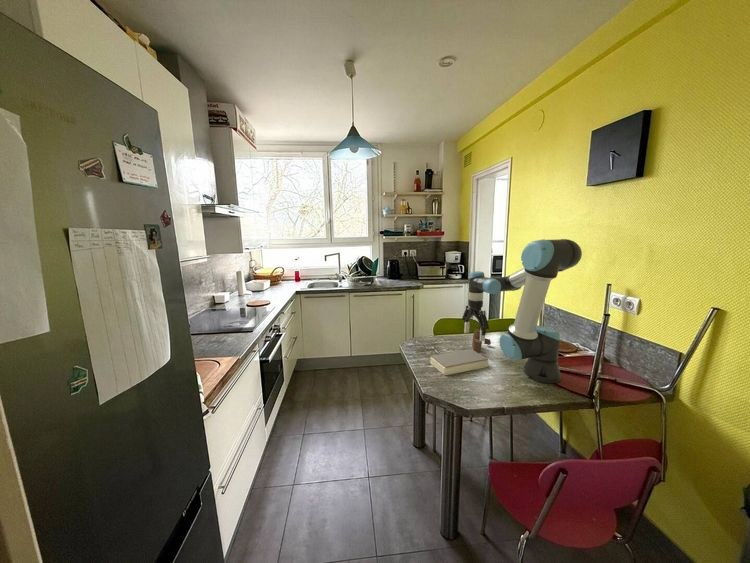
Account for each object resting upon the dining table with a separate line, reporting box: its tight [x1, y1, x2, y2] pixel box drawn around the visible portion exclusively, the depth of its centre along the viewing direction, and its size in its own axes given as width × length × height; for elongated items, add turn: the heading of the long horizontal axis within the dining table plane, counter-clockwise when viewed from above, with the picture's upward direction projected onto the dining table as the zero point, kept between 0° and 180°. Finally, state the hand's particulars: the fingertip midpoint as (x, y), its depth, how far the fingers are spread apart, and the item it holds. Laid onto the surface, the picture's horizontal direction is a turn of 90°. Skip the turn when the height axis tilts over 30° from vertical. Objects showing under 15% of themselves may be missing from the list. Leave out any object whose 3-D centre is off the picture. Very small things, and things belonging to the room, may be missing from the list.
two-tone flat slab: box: [429, 348, 489, 376], centre depth 147 cm, size 14×25×4 cm, turn 109°
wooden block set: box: [471, 329, 492, 354], centre depth 165 cm, size 18×9×10 cm, turn 146°
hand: (474, 336), depth 165 cm, fingers open, 13 cm apart
